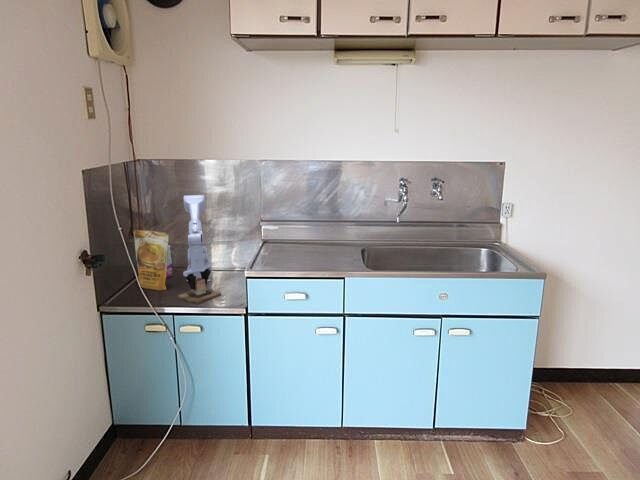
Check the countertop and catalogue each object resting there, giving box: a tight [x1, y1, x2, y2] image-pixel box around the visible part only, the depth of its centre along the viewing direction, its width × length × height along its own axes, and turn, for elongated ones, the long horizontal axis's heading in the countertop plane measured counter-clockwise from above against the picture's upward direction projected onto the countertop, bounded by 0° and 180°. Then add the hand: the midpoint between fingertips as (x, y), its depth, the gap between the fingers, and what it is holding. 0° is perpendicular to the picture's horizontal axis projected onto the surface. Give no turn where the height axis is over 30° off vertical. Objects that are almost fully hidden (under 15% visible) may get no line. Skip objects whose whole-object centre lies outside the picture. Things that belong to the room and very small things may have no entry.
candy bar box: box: [166, 244, 174, 279], centre depth 243 cm, size 11×5×16 cm, turn 148°
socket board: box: [176, 288, 222, 305], centre depth 219 cm, size 14×14×2 cm
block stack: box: [190, 278, 207, 295], centre depth 218 cm, size 4×4×7 cm
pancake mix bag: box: [132, 229, 170, 291], centre depth 228 cm, size 7×19×28 cm, turn 69°
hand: (198, 287), depth 218 cm, fingers open, 6 cm apart
